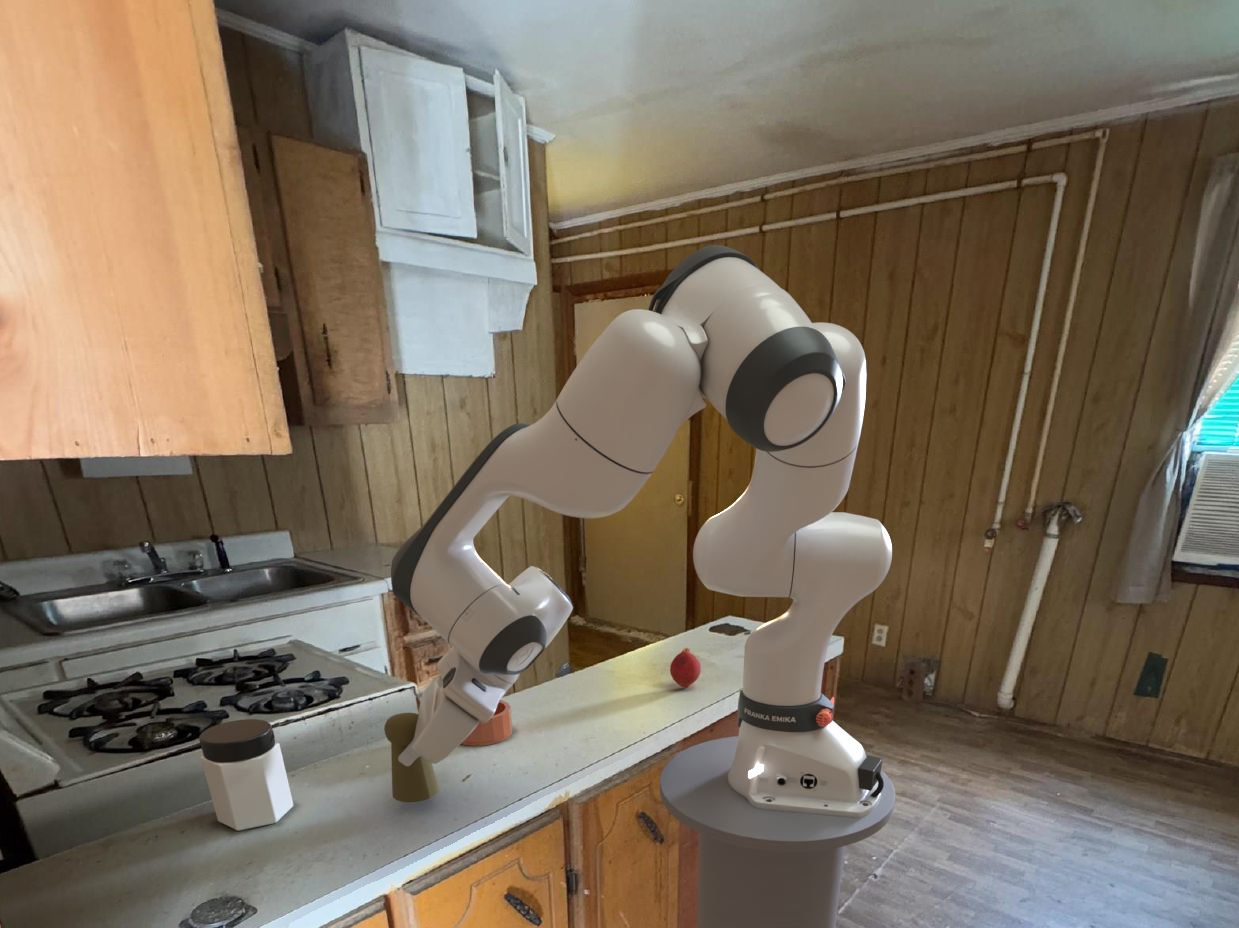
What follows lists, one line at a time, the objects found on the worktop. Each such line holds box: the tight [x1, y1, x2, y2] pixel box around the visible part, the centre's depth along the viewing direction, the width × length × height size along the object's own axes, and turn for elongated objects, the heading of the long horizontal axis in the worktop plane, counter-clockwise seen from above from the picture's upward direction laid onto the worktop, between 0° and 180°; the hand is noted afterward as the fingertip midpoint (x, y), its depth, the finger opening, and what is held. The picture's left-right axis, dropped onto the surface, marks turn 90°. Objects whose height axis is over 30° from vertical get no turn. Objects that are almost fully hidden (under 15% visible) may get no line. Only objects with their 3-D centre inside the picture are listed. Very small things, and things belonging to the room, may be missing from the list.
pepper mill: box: [383, 712, 440, 804], centre depth 97 cm, size 6×6×11 cm
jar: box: [198, 718, 294, 832], centre depth 95 cm, size 9×8×12 cm
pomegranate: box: [669, 646, 702, 689], centre depth 141 cm, size 6×6×8 cm
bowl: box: [460, 699, 513, 747], centre depth 121 cm, size 10×10×4 cm
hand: (404, 752), depth 97 cm, fingers closed on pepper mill, 4 cm apart
